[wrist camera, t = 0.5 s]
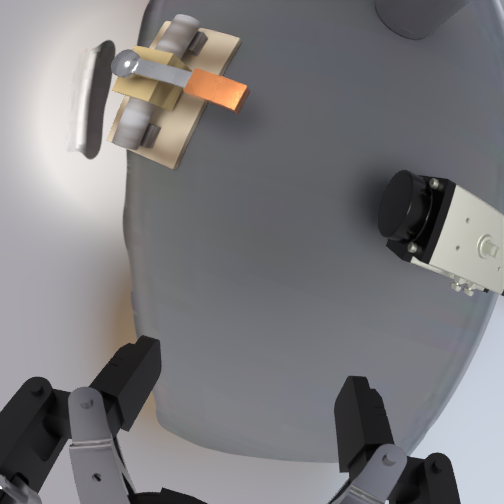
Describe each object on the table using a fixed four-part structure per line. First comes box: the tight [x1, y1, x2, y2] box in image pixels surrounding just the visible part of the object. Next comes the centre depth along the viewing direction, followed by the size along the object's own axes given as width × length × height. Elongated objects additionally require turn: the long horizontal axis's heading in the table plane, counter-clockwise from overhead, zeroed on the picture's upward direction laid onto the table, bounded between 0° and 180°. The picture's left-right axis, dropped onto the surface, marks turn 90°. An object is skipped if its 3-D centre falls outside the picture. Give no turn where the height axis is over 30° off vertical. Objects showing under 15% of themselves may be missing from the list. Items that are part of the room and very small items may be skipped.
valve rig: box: [107, 14, 242, 169], centre depth 27 cm, size 20×12×11 cm, turn 154°
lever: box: [111, 50, 250, 114], centre depth 21 cm, size 3×14×2 cm, turn 64°
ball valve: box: [378, 170, 504, 296], centre depth 25 cm, size 18×8×18 cm, turn 74°
